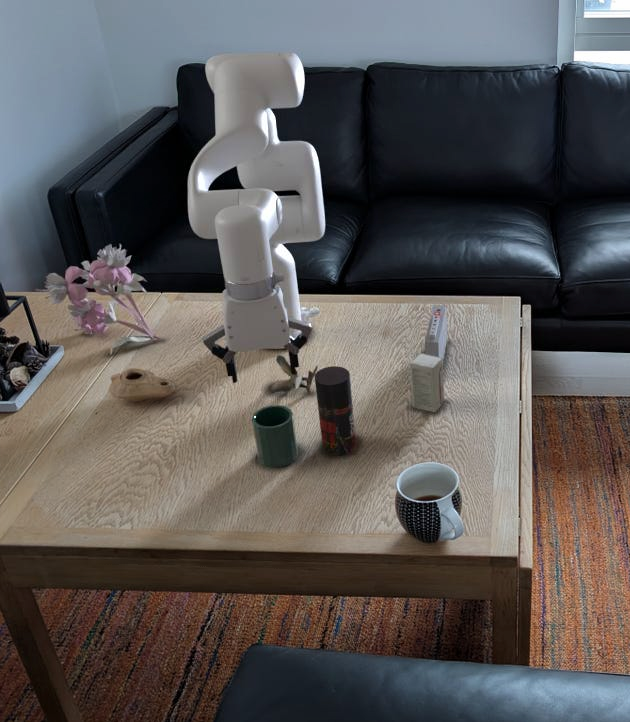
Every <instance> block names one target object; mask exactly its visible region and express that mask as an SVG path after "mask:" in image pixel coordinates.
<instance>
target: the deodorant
mask: <svg viewBox="0 0 630 722" xmlns="http://www.w3.org/2000/svg"><path fill="white" fill-rule="evenodd" d="M349 371H350V370H348V369H347V368H346V367H342V366H339V365H337V366H336V365H333V366H326V367H323V368H321V369H319V370H317V371H316V373H315V376H314V382H315V392H316V393H315V394H316V400H317V401H316V402H317V408H318V418H319V419H318V420H319V427H320V435H321V443H322V450H323V451H324V452H325V453H326V454H327V455H330V456H335V457H336V456H337V457H338V456H340V457H341V456H344V455H347V454H350V453H352V452H353V451H354V450H355V448H356V446H357V440H356V431H355V418H354V408H353V396H352V395H353V394H352V385H351V374H350V372H349Z"/></svg>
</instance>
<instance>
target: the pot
mask: <svg viewBox="0 0 630 722" xmlns="http://www.w3.org/2000/svg"><path fill="white" fill-rule="evenodd" d="M251 423H252V430H253V436H254V442H255V448H256V453H257V457H258V461H259V463H260V464H261V465H262V466H264V467H268V468H273V469H274V468H282V467H283V468H284V467H286V466H288V465H291V464H292V463H293V462H294V461H295V460H296V459H297V457H298V456H299V455H298V454H299V451H298V450H299V447H298V442H297V435H296V427H295V419H294V413H293V411H292V410H291V408H289V407H287V406H284V405H281V404H277V405H276V404H273V405H267V406H264V407H261V408H260V409H257V410H256V411H255V412H254V413H253V414H252V417H251Z"/></svg>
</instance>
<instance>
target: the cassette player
mask: <svg viewBox="0 0 630 722" xmlns="http://www.w3.org/2000/svg"><path fill="white" fill-rule="evenodd" d="M447 330H448V329H447V305H445V304H444V305H443V304H442V305H441V304H433V305H432V310H431V314H430V318H429V323H428V326H427V331H426V336H425V340H424V354H428V355H433V356H437V357H441V358H443V359H444V358H445V353H446V347H447V342H448V340H447V335H448V334H447V333H448V332H447Z"/></svg>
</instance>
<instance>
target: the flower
mask: <svg viewBox="0 0 630 722" xmlns="http://www.w3.org/2000/svg"><path fill="white" fill-rule="evenodd" d="M127 251H128V250H127V249H125V248H124V249H122V244H121V243H119V248H116V246H115V247H112V243H110V244H108V245H106V246H104V248H103V249H101V248H100V249H99V250H98V252H97V255H98V256H97V259H96V260H93V261H92V262H91V263H90V261H89V260H84V261H82V262H81V263H80V264H81V265H82V267H83V269H82V268H79V267H78V266H75V265H74V266H73V265H70V266H69V267H68V268H67V269H66V270H65V276H64V277H63V276H61V275H59V274H58V273H56V272H51V273H49V274H48V275H47V276H45V279H46V281H44V284H45V286H44V288H45V289H39V288H35V291H37V292H43V293H45V292H46V293H47V294H48V295H49V296H45V300H47V299H49V298H51V299H50V300H49V301H50V303H52V304H61V303H62V302H64V300H65V299H66V297H68V300H69V303H70V304H67V309H68V310H69V311H70V312H69V315H71V316H72V319H71V320H72V321H75V322H76V325H77V327H74V328H73V330H74V332H78V331H80V330H82V331H83V333H85V335H92V331H93V332H94V333H95V334H104V332H106V331H107V330H108V329H109V326H111V325H113V324H117V323H118V324H120V325H123V326H125V327H127V328H129V329H132V330H134V331H137V332H140V333H142V334H139V335H131V336H120V337H118V338H116V339H115V340H114V342H113V343H112V344H111V346H110V354H109V355H112V354H113V352H114V349H115V348H117V347H119V346H122V345H124V344H126V343H131V342H132V343H133V342H134V343H137V344H139V343H141V344H142V343H143V342H147V341H150V340H159V341H161V338H160V337H158V336H157V335H155V334H154V333H153V332H152V331H151V329H150V327H149V325H148V323H147V321H146V319H145V317H144V315H143V314H142V312H141V310H140V308H139V307H138V305H137V304H136V302H135V300H134V298H133V295H132V292H133V291H134V292H138V291H142V292H143V293H144V294H148V292H147V290H146V289H145V288H144V286H142V285H141V283H140V282H141V281H144V282H148V281H147V280H146V279H145V278H144V277H143V276H141V275H139V274H137V273H132V271H131V269H130V268H129V267H127V265H128V264H129V263H130V261H131V257H132V255H129V256H127V257H126V255H127ZM80 277H81V279H83V280H85V282H84V283H76V282H74V281H75V280H76V279H78V278H80ZM46 288H47V289H46ZM87 288H88V289H94V290H95V292H96V294H98V295H100V296H103V297H104V296H109V297H110V298H113V300H110V301H109V302H108V303H107V310H106V309H105V308H104V305H103V303H98V302H97V300H94V299H90V300H88V294H89V290H88V289H87ZM115 288H116V289H115ZM115 290H116V291H115ZM120 296H124V297H126V299H125V298H120ZM126 300H128V301H129V303H130V305H131V306H132V308H133V309H134V311H136V312H137V314H138V316H139V317H138V316H137V314H136V313H135V312H134V311H133V310H132V309H131V307H129V306H128V305H127V304H126V303H125V302H124V301H126ZM118 305H120V306H121V307H122V308H123V309H124V310H125V311H126V312H127V313H128V314H129V315H130V316H131V317H132V318H133V319H134V320H135V322H136V323H137V324H138V325H139V326H138V325H137V324H135V323H131V322H127V321H124V320H122V319H121V320H120V319H117V317H116V313H115V310H114V308H115V307H116V306H118Z"/></svg>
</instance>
